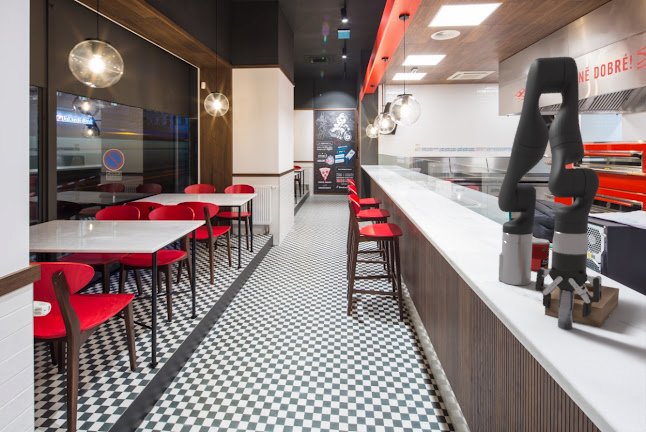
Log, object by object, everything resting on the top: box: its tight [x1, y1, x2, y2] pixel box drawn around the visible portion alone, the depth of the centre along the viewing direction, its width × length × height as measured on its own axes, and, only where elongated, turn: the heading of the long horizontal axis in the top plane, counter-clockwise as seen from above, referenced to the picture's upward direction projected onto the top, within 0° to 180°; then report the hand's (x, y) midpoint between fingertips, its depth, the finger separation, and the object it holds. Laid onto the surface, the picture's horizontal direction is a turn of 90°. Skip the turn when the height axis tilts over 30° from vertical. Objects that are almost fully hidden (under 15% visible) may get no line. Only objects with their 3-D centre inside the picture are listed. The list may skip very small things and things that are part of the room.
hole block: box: [544, 282, 620, 328], centre depth 117 cm, size 13×20×5 cm, turn 135°
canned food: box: [531, 237, 551, 273], centre depth 157 cm, size 8×8×11 cm
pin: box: [557, 289, 574, 331], centre depth 106 cm, size 3×3×10 cm
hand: (566, 312), depth 106 cm, fingers open, 8 cm apart
